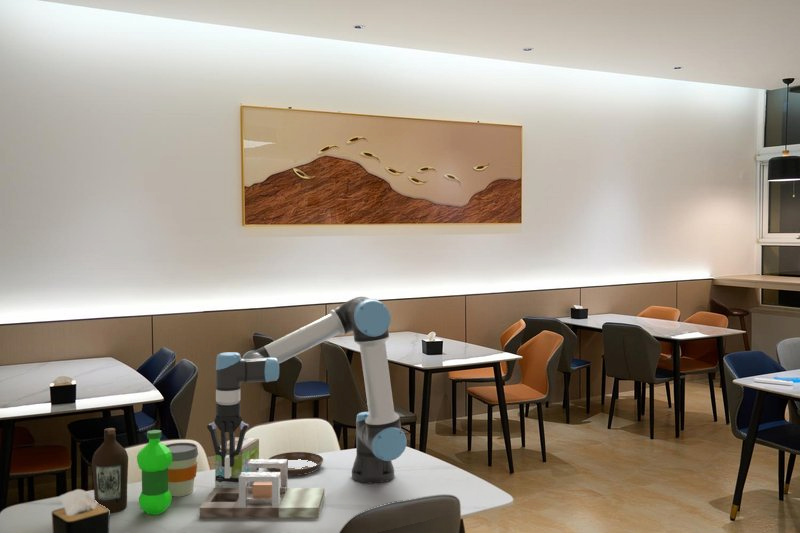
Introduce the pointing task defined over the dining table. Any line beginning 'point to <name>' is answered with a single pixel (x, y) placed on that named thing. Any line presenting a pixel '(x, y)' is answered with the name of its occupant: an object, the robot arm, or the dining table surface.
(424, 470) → the dining table surface
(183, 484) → the reusable coffee cup
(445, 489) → the dining table surface
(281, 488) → the tunnel
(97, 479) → the olive oil
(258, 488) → the terracotta block
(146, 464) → the plastic bottle
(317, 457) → the plant saucer
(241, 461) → the tea box
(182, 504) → the dining table surface
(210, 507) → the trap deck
